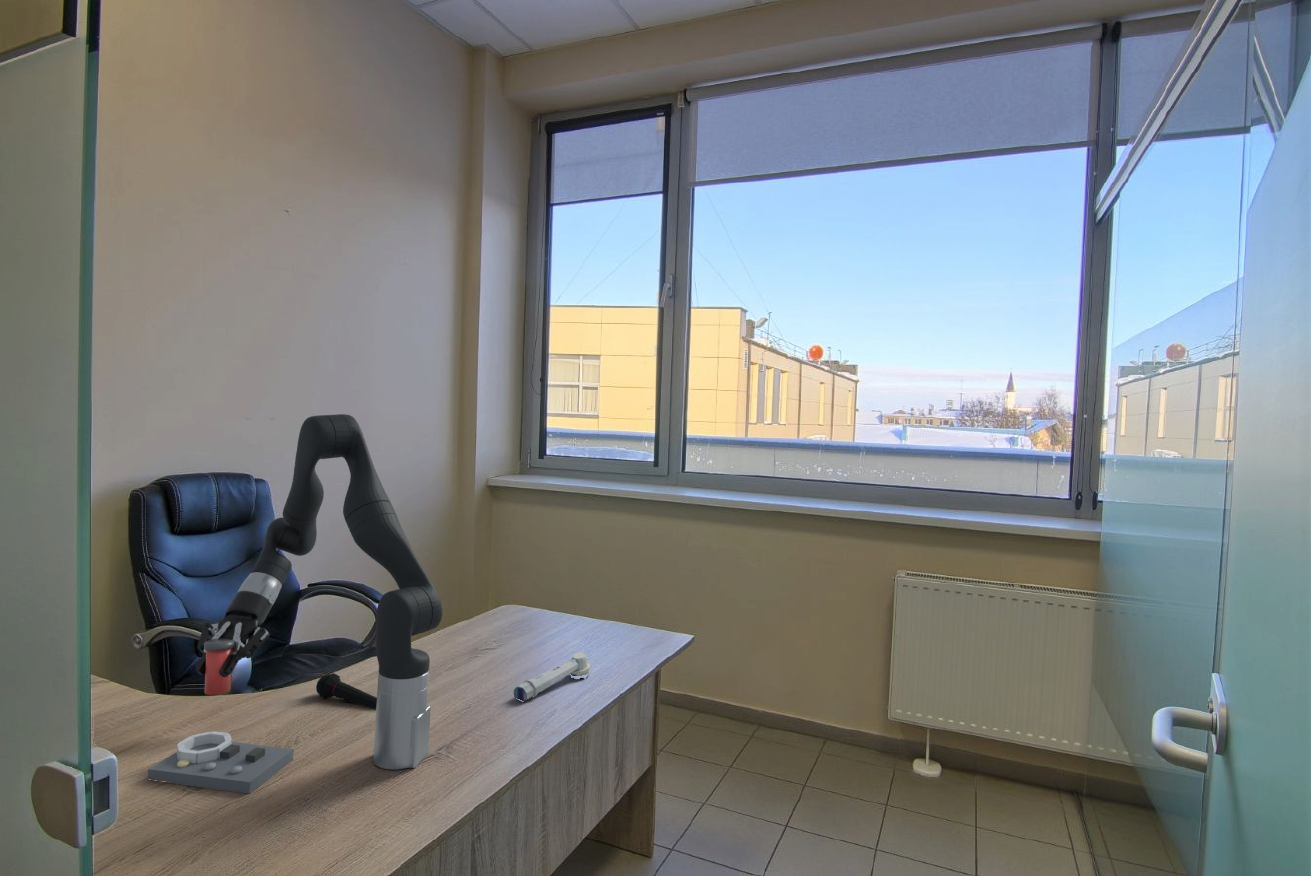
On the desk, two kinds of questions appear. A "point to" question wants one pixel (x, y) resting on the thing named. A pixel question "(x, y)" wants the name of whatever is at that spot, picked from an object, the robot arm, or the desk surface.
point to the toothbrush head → (553, 676)
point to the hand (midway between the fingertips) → (211, 673)
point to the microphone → (343, 691)
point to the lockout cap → (217, 665)
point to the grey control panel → (220, 763)
